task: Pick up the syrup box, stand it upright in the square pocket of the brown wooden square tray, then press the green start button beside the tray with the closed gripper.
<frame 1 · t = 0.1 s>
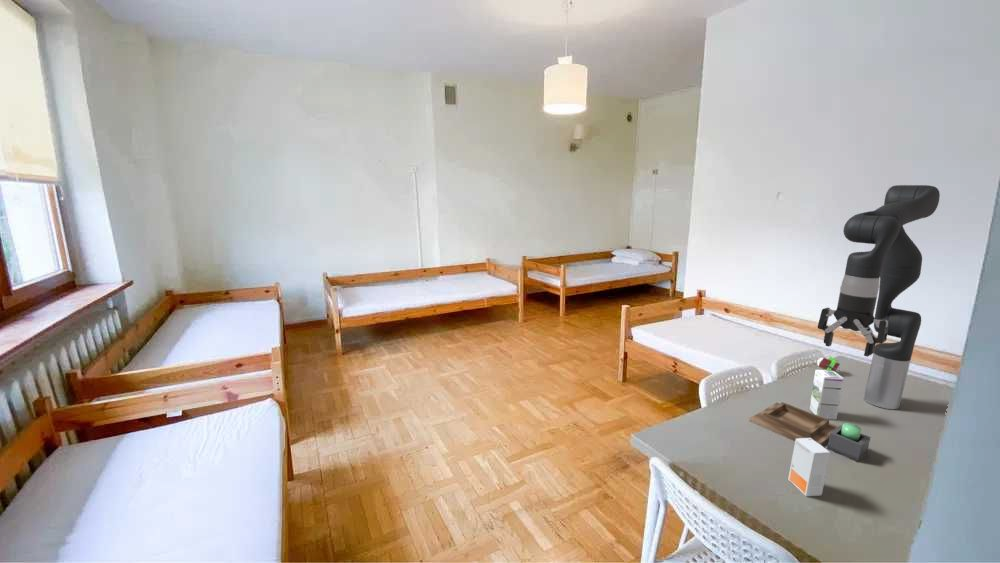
hand: (846, 350, 114), 29 cm above the table, tool pointing down, fingers open, 8 cm apart
start button: (850, 431, 117), point 6 cm above the table, slide at 0.0 cm
button housing: (846, 450, 118), on the table
skincare box: (804, 488, 104), on the table
brown wooden square tray: (794, 425, 131), on the table
syrup box: (821, 415, 137), on the table
geometric puzzle: (827, 373, 168), on the table
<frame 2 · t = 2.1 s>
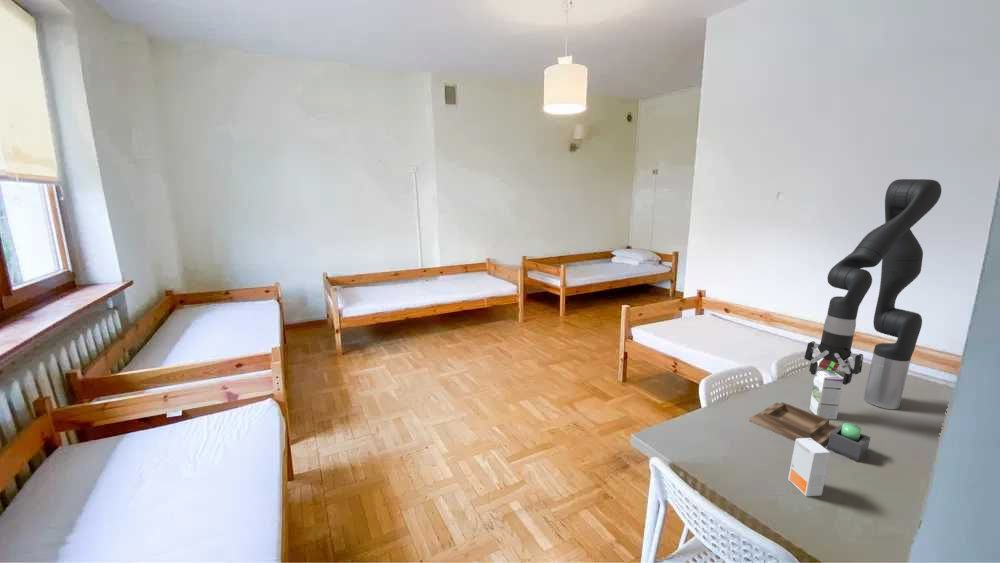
hand: (828, 378, 134), 13 cm above the table, tool pointing down, fingers open, 8 cm apart
syrup box: (821, 415, 137), on the table, touching gripper
everything else where it was.
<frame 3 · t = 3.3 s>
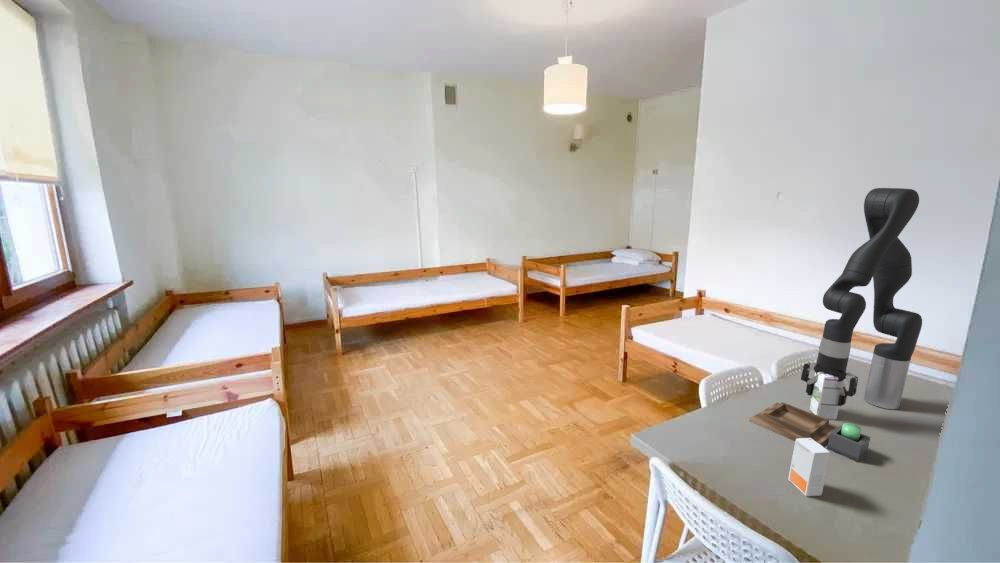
hand: (824, 399, 136), 5 cm above the table, tool pointing down, fingers closed on syrup box, 8 cm apart
syrup box: (821, 415, 137), on the table, touching gripper
everything else where it was.
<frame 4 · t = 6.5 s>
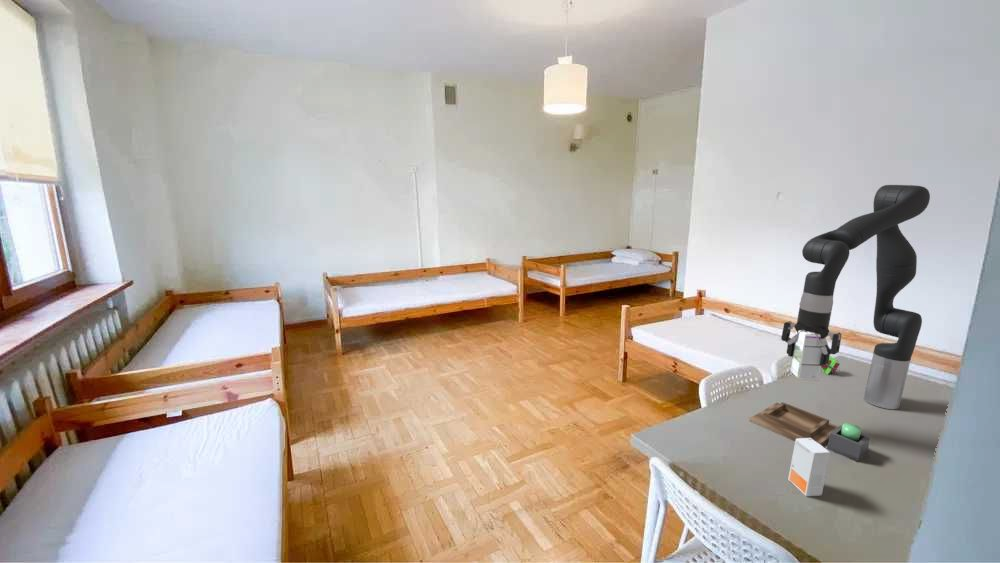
hand: (806, 360, 126), 22 cm above the table, tool pointing down, fingers closed on syrup box, 8 cm apart
syrup box: (803, 377, 127), point 16 cm above the table, touching gripper
everything else where it was.
when the fingers open (7 cm above the table, at t = 9.9 s): syrup box stays where it is, resting on brown wooden square tray.
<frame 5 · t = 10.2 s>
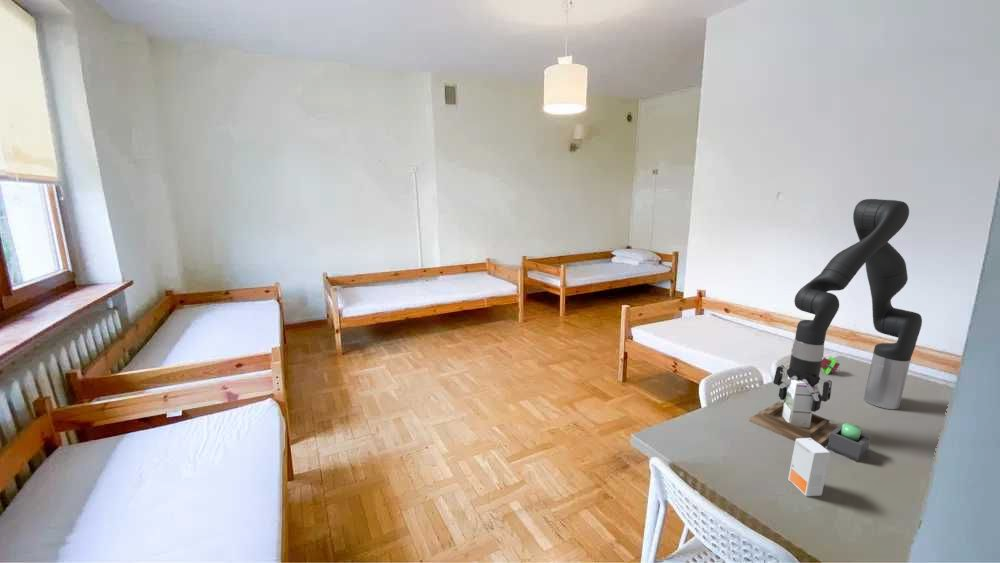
hand: (797, 404, 129), 7 cm above the table, tool pointing down, fingers open, 8 cm apart
syrup box: (794, 422, 131), point 1 cm above the table, touching gripper, brown wooden square tray
everything else where it was.
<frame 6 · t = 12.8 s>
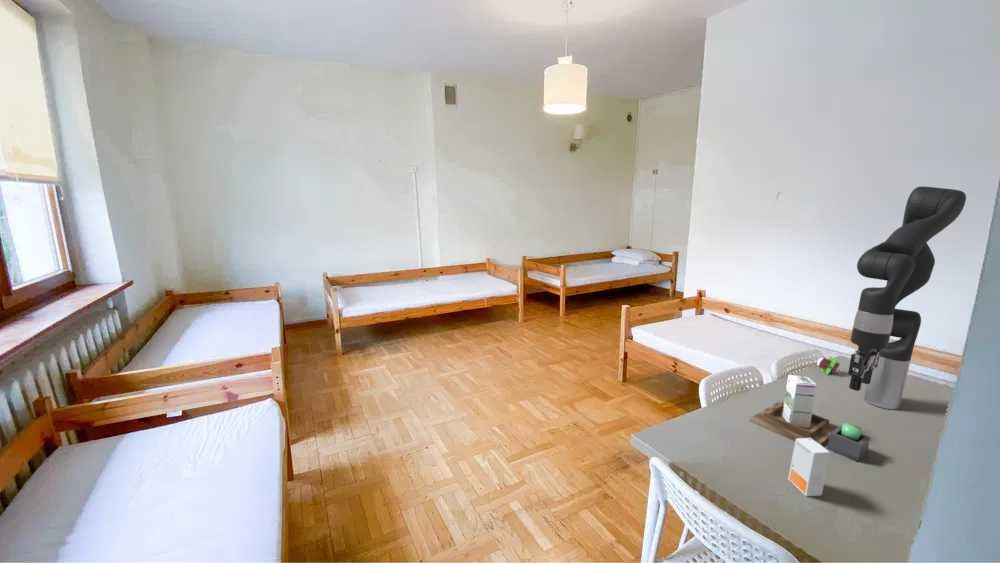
hand: (859, 386, 114), 20 cm above the table, tool pointing down, fingers open, 6 cm apart
syrup box: (794, 422, 131), point 1 cm above the table, touching brown wooden square tray
everything else where it was.
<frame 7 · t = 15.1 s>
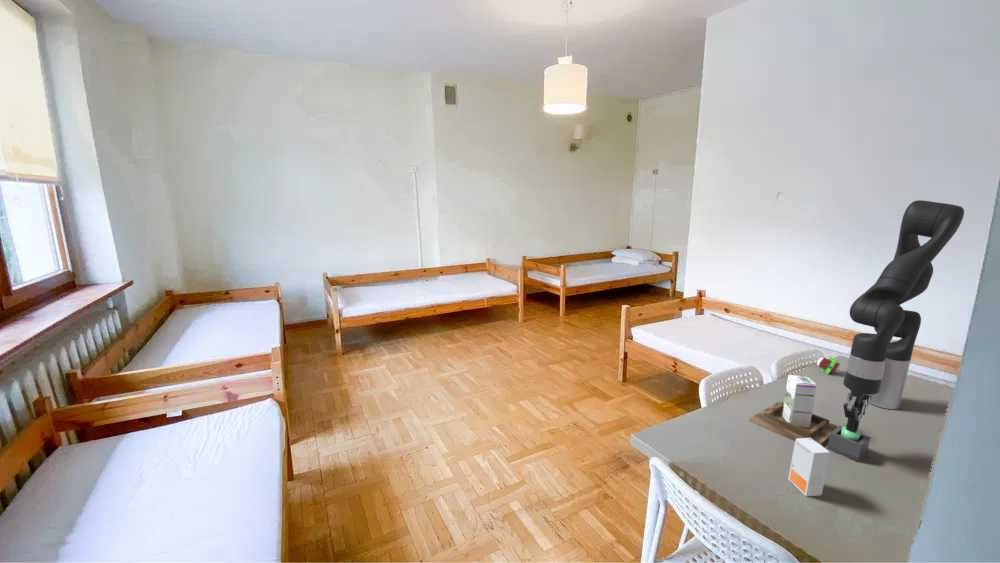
hand: (851, 430, 117), 7 cm above the table, tool pointing down, fingers closed
start button: (850, 435, 117), point 5 cm above the table, slide at 1.0 cm, touching gripper
everything else where it was.
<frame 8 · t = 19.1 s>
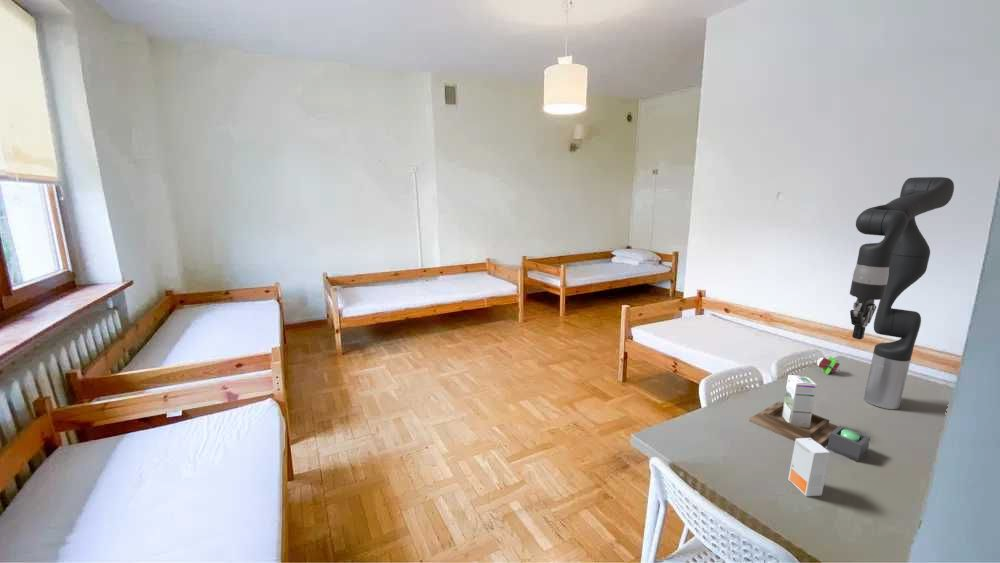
hand: (857, 338, 124), 29 cm above the table, tool pointing down, fingers closed
start button: (849, 438, 118), point 4 cm above the table, slide at 2.0 cm
everything else where it was.
at the end: syrup box 0.3 cm off-centre on the brown wooden square tray, point 0.8 cm above the brown wooden square tray's base; syrup box tilted 0°; start button slide at 2.0 cm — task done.
